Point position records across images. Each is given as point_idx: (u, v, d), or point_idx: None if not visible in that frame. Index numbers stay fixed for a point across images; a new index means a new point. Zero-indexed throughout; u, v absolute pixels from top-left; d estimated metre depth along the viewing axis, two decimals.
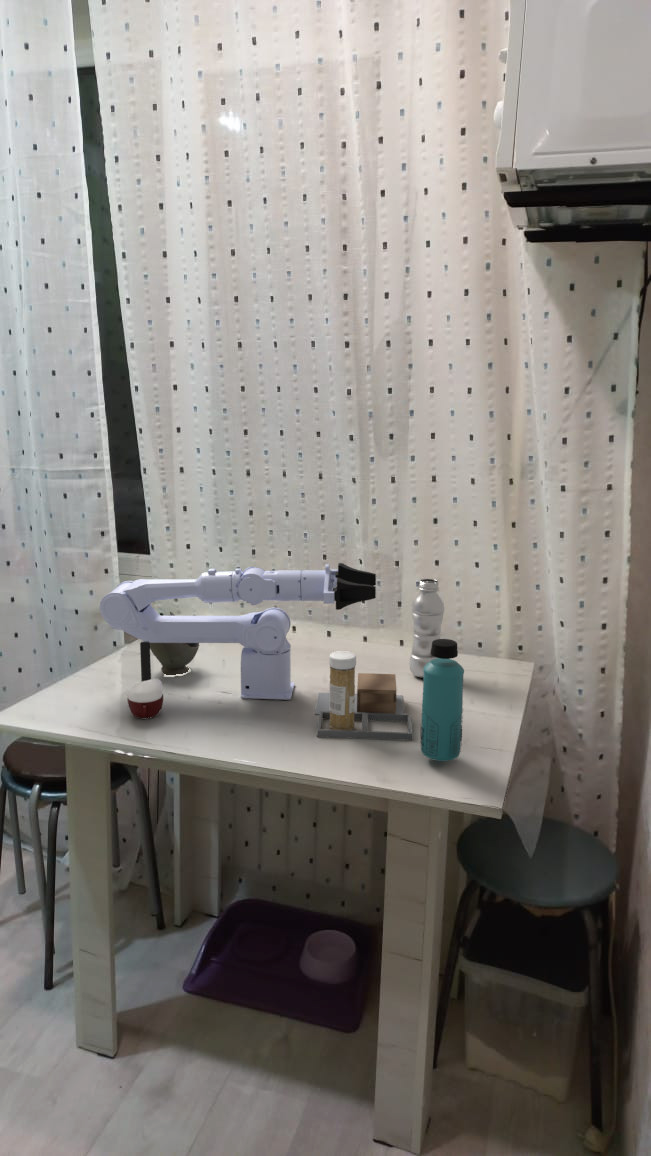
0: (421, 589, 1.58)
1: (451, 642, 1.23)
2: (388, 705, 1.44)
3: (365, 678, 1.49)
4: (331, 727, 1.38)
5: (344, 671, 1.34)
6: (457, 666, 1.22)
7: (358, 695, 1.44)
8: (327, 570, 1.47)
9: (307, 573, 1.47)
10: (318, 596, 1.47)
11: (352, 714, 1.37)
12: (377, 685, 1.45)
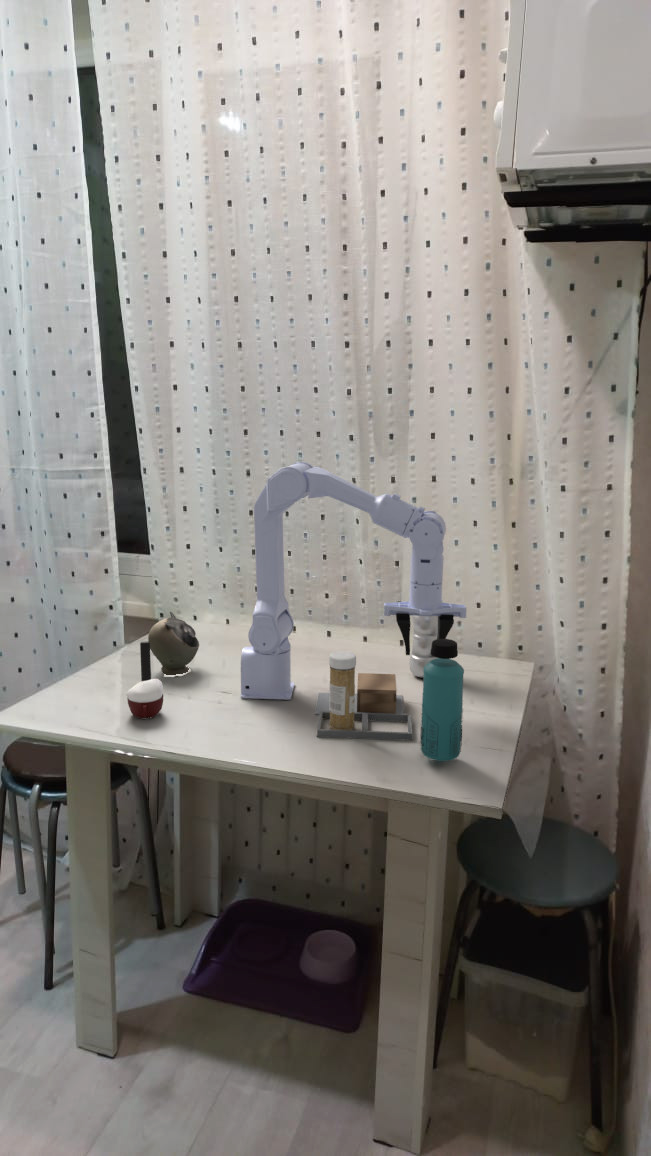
0: None
1: (451, 642, 1.23)
2: (388, 705, 1.44)
3: (365, 678, 1.49)
4: (331, 727, 1.38)
5: (344, 671, 1.34)
6: (457, 665, 1.23)
7: (358, 695, 1.44)
8: (420, 612, 1.40)
9: (421, 591, 1.40)
10: None
11: (352, 714, 1.37)
12: (377, 685, 1.45)
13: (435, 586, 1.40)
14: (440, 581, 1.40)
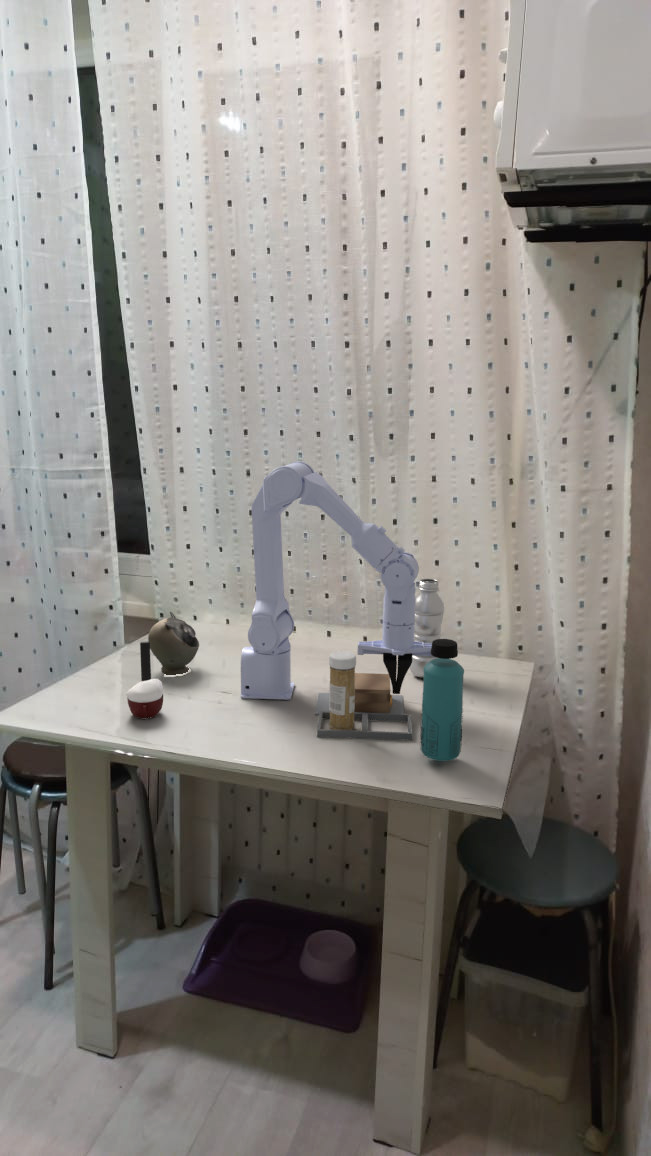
0: (421, 589, 1.58)
1: (451, 642, 1.23)
2: (382, 705, 1.44)
3: (359, 678, 1.49)
4: (331, 727, 1.38)
5: (344, 671, 1.34)
6: (457, 665, 1.23)
7: None
8: (392, 652, 1.42)
9: (393, 631, 1.42)
10: None
11: (352, 714, 1.37)
12: (371, 685, 1.46)
13: (407, 627, 1.42)
14: (412, 622, 1.43)
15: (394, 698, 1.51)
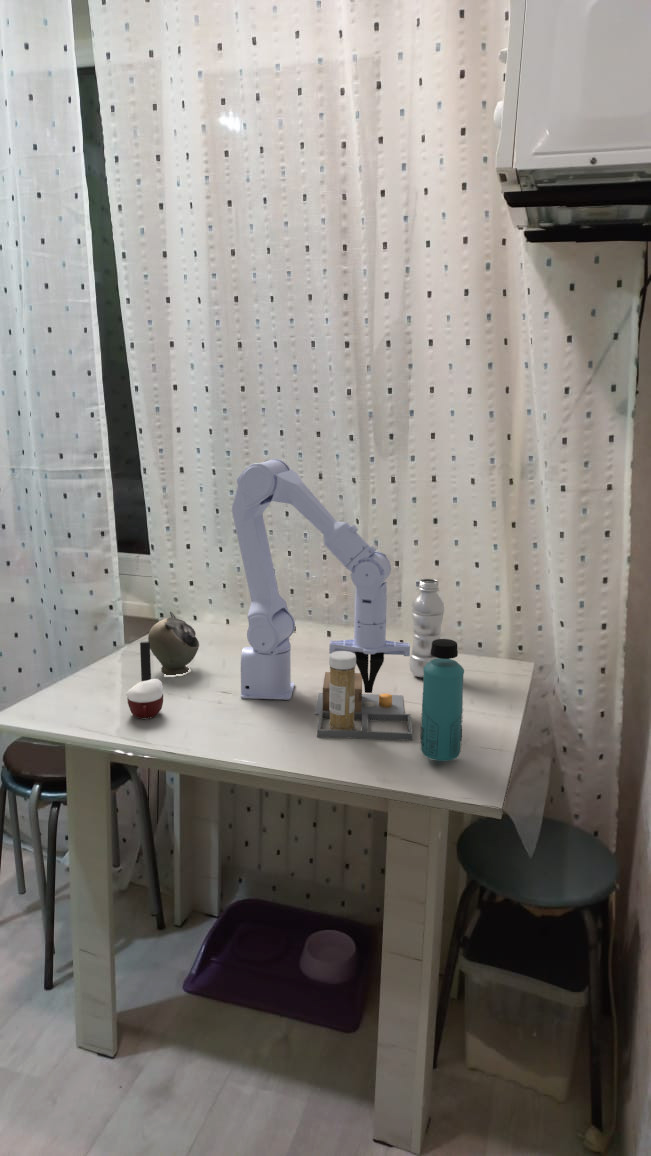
0: (421, 589, 1.58)
1: (451, 642, 1.23)
2: None
3: None
4: (331, 727, 1.38)
5: (344, 671, 1.34)
6: (457, 666, 1.22)
7: (324, 694, 1.44)
8: (363, 651, 1.43)
9: (364, 630, 1.42)
10: None
11: (352, 714, 1.37)
12: None
13: (378, 626, 1.42)
14: (383, 621, 1.43)
15: (394, 698, 1.51)
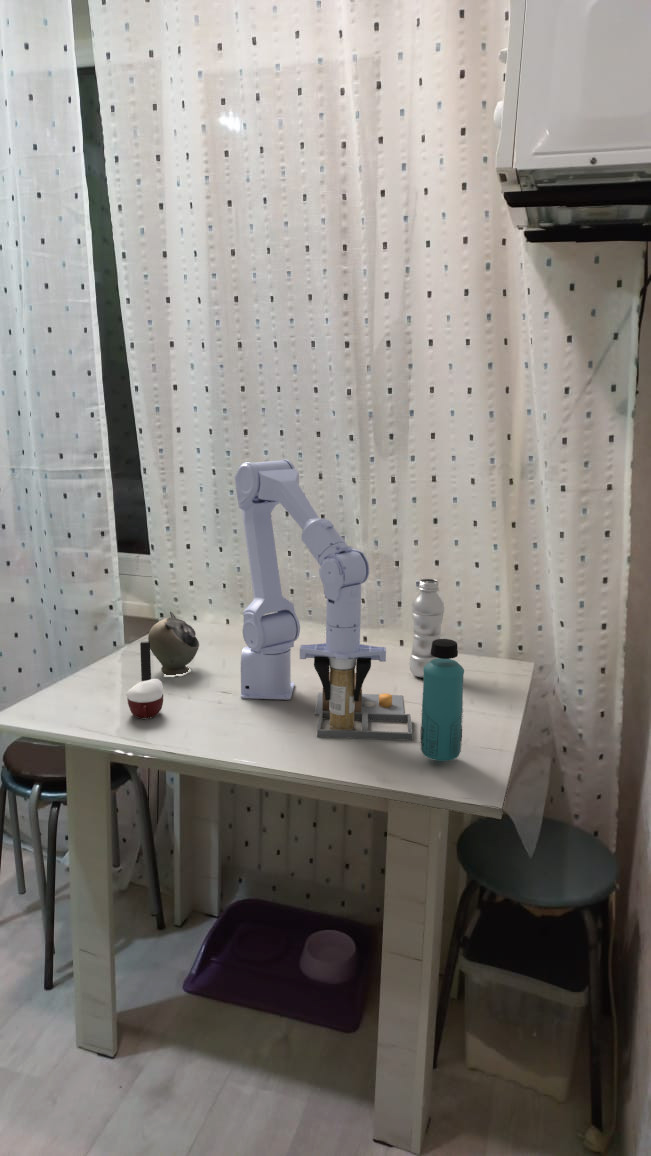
0: (421, 589, 1.58)
1: (451, 642, 1.23)
2: None
3: None
4: (331, 727, 1.38)
5: (344, 671, 1.34)
6: (457, 666, 1.23)
7: (324, 694, 1.44)
8: (335, 656, 1.33)
9: (336, 633, 1.32)
10: None
11: (352, 714, 1.37)
12: None
13: (351, 629, 1.32)
14: (348, 625, 1.32)
15: (394, 698, 1.51)
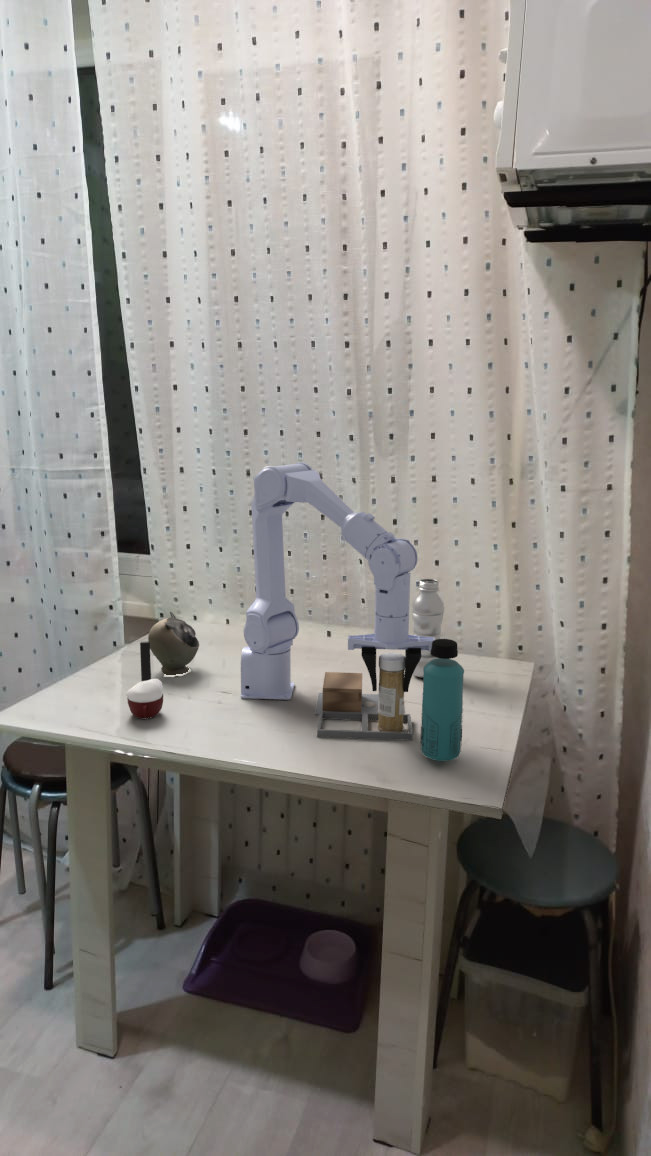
0: (421, 589, 1.58)
1: (451, 642, 1.23)
2: (353, 704, 1.44)
3: (332, 677, 1.49)
4: (380, 729, 1.37)
5: (394, 673, 1.34)
6: (457, 665, 1.23)
7: (324, 694, 1.44)
8: (385, 646, 1.32)
9: (386, 623, 1.31)
10: None
11: (401, 716, 1.37)
12: (343, 684, 1.46)
13: (401, 618, 1.31)
14: (402, 614, 1.31)
15: None
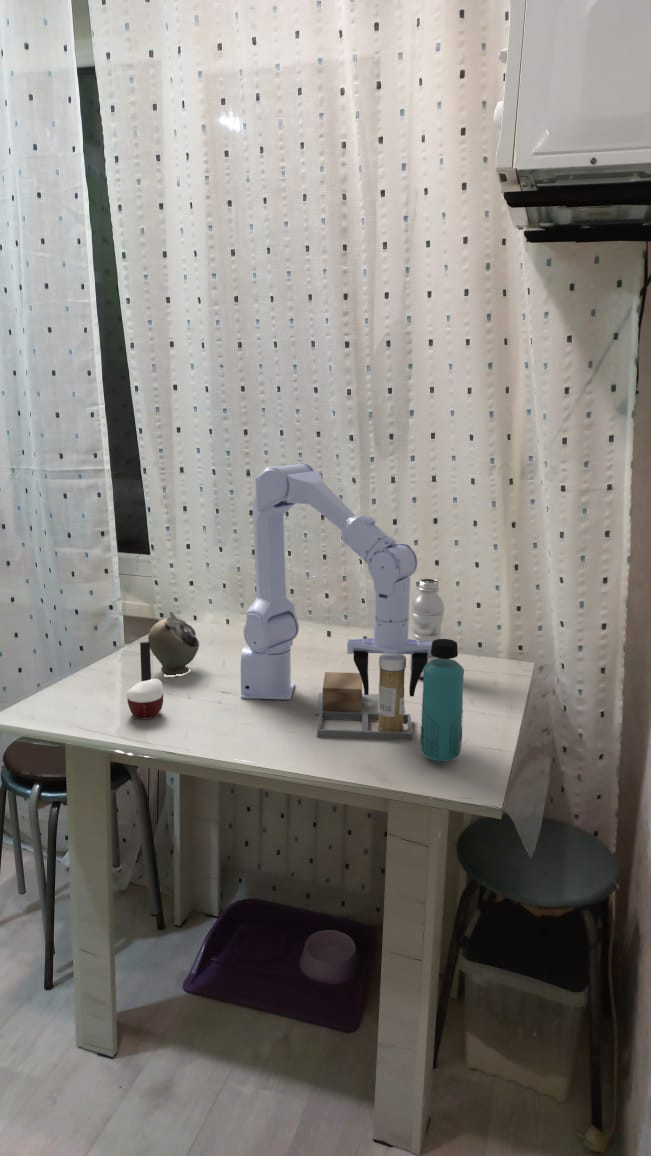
0: (421, 589, 1.58)
1: (451, 642, 1.23)
2: (353, 704, 1.44)
3: (332, 677, 1.49)
4: (380, 729, 1.37)
5: (395, 673, 1.34)
6: (457, 666, 1.22)
7: (324, 694, 1.44)
8: (384, 650, 1.32)
9: (385, 628, 1.32)
10: None
11: (401, 716, 1.37)
12: (343, 684, 1.46)
13: (400, 623, 1.31)
14: (401, 619, 1.31)
15: None
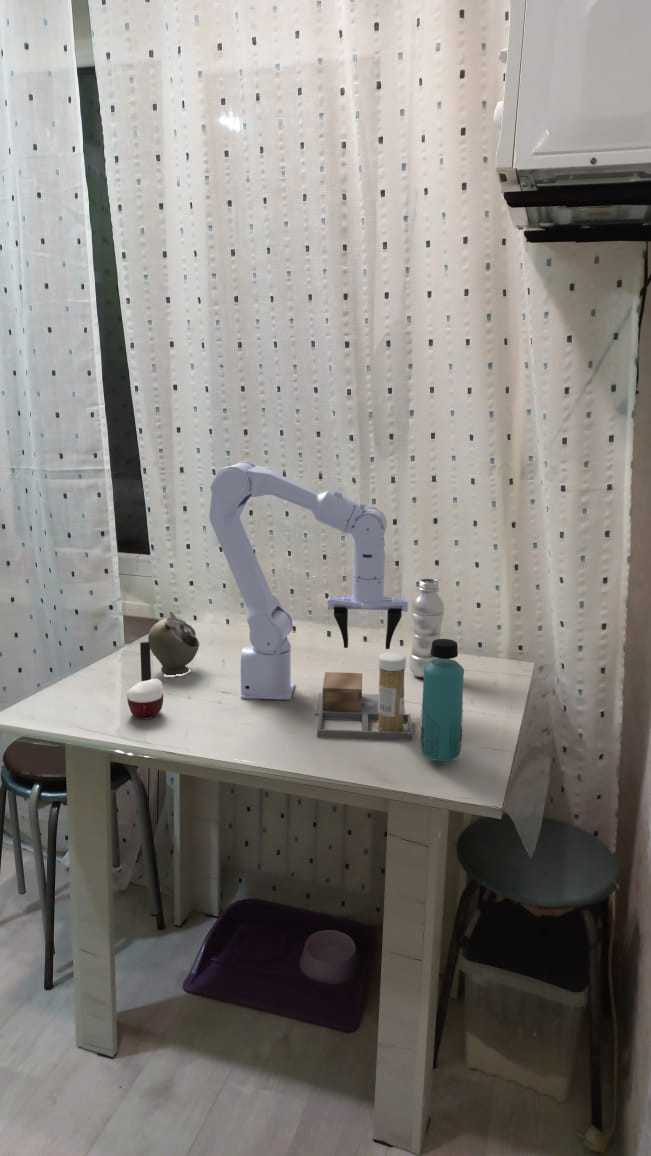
0: (421, 589, 1.58)
1: (451, 642, 1.23)
2: (353, 704, 1.44)
3: (332, 677, 1.49)
4: (380, 729, 1.37)
5: (394, 673, 1.34)
6: (457, 666, 1.22)
7: (324, 694, 1.44)
8: (361, 605, 1.44)
9: (362, 585, 1.43)
10: None
11: (401, 716, 1.37)
12: (343, 684, 1.46)
13: (376, 580, 1.43)
14: (382, 575, 1.44)
15: None
